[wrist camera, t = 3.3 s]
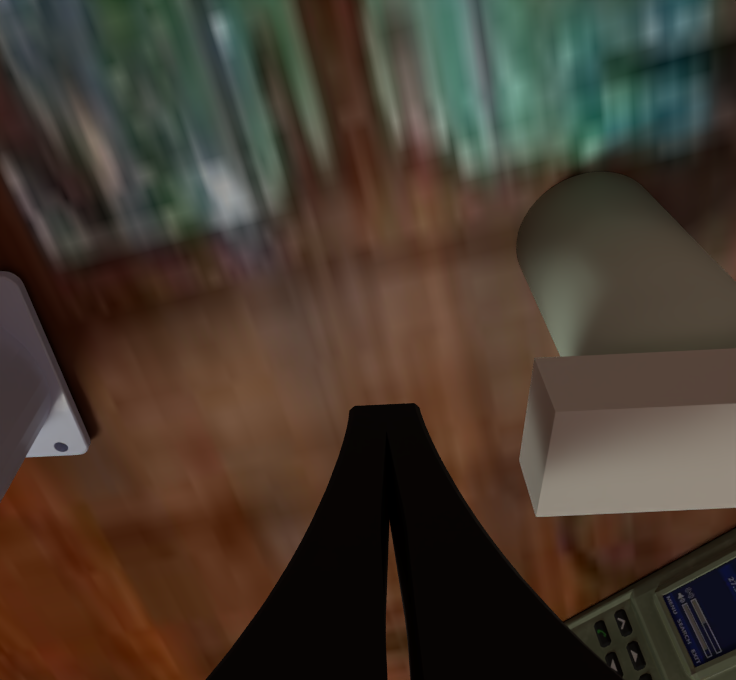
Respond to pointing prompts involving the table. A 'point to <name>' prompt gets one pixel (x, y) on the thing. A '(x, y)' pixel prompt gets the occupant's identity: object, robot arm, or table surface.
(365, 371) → the table surface
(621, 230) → the plug
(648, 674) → the handheld radio
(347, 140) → the table surface
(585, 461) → the pale grey rectangular box
